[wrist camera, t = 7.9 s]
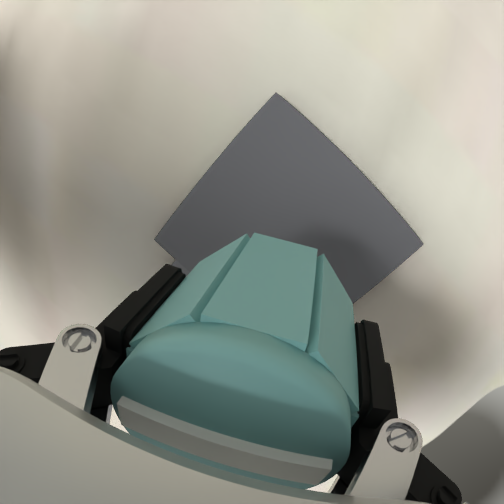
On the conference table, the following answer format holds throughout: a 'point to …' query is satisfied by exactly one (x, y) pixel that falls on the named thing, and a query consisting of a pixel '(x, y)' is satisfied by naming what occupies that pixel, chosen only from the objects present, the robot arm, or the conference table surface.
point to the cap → (248, 366)
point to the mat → (291, 202)
